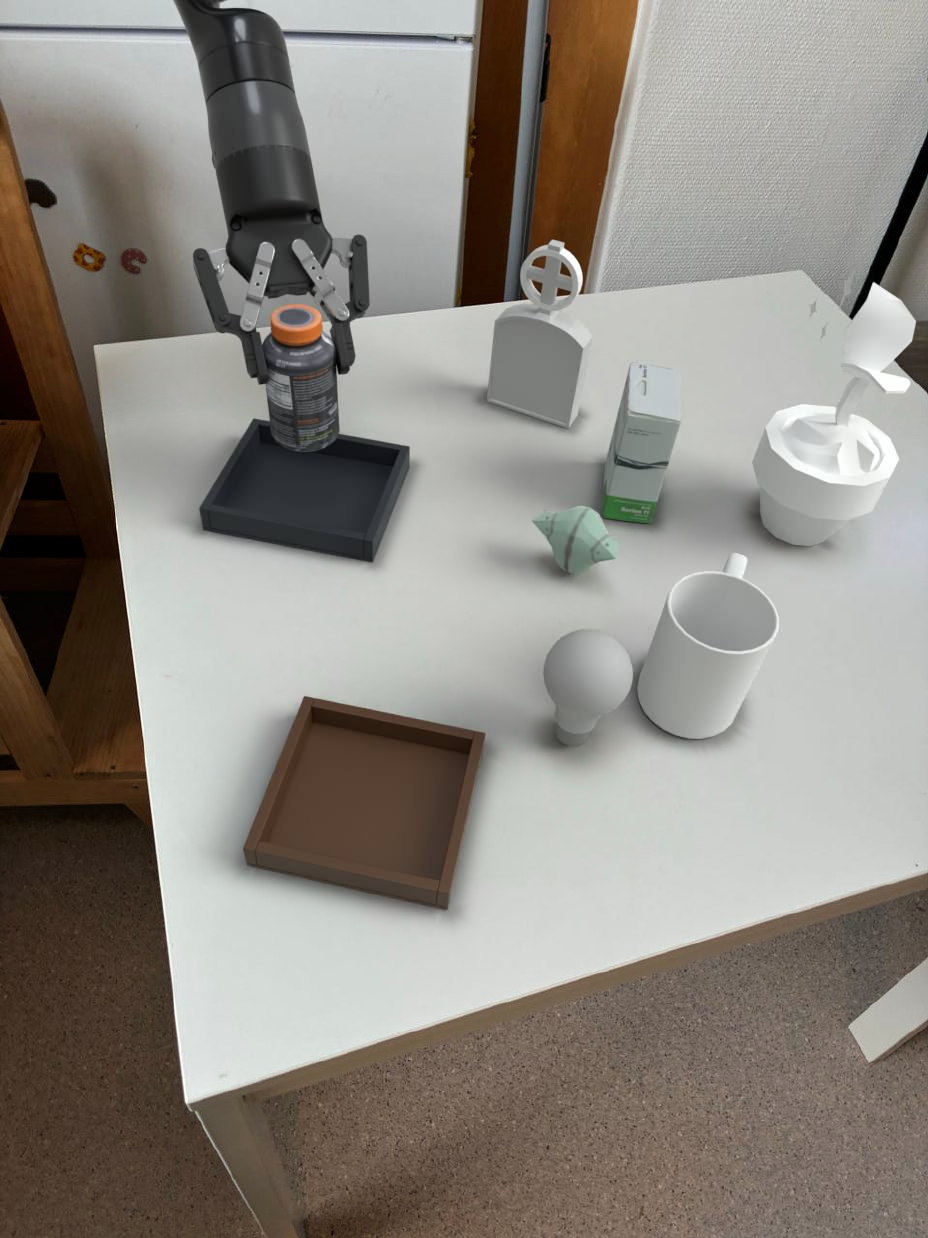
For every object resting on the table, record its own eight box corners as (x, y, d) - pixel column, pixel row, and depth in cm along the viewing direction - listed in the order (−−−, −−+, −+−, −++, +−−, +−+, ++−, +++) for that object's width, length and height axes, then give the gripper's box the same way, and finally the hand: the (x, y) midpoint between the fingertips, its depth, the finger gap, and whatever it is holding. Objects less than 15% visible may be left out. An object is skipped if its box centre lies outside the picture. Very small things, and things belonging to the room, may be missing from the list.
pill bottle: (340, 413, 81) (336, 296, 73) (338, 455, 77) (333, 336, 69) (273, 411, 80) (260, 294, 72) (268, 453, 77) (253, 334, 68)
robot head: (521, 564, 80) (530, 506, 75) (543, 538, 83) (553, 480, 77) (601, 602, 78) (617, 545, 73) (621, 574, 80) (638, 517, 75)
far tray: (203, 530, 80) (198, 508, 78) (256, 439, 89) (253, 417, 87) (372, 562, 79) (372, 541, 77) (409, 467, 88) (410, 445, 86)
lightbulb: (607, 708, 70) (637, 614, 62) (612, 775, 66) (645, 684, 58) (529, 702, 70) (548, 607, 62) (530, 770, 66) (551, 677, 58)
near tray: (246, 865, 60) (242, 848, 58) (306, 714, 68) (304, 695, 66) (447, 910, 58) (449, 894, 57) (483, 750, 67) (485, 732, 65)
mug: (724, 755, 68) (768, 669, 60) (624, 718, 70) (654, 629, 62) (754, 644, 76) (797, 555, 68) (663, 613, 77) (695, 522, 69)
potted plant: (738, 474, 91) (831, 229, 72) (856, 503, 89) (982, 260, 70) (724, 556, 83) (824, 304, 64) (853, 590, 81) (995, 341, 62)
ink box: (652, 526, 85) (683, 422, 76) (599, 518, 85) (625, 413, 76) (653, 468, 90) (683, 365, 82) (604, 461, 91) (628, 357, 82)
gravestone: (568, 428, 94) (599, 263, 80) (486, 401, 96) (503, 235, 83) (577, 415, 96) (609, 250, 82) (497, 388, 98) (515, 224, 84)
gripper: (167, 146, 65) (214, 379, 67) (360, 135, 69) (400, 355, 71) (171, 189, 73) (213, 398, 74) (345, 176, 76) (382, 375, 78)
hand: (304, 376), depth 73 cm, fingers closed on pill bottle, 6 cm apart
